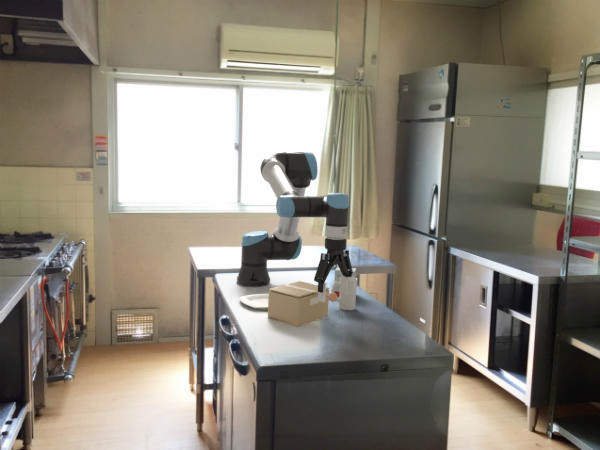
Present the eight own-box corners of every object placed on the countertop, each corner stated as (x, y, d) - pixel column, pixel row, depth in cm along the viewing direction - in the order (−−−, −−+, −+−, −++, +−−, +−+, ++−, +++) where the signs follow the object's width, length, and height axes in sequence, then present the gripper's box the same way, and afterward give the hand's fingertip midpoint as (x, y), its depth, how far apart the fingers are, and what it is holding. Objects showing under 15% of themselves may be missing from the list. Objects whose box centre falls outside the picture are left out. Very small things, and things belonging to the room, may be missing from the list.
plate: (252, 314, 212) (252, 308, 211) (233, 300, 228) (233, 295, 228) (297, 309, 220) (297, 304, 220) (276, 296, 237) (276, 292, 237)
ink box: (352, 298, 238) (354, 271, 236) (332, 297, 240) (334, 269, 238) (355, 294, 246) (356, 267, 245) (335, 292, 248) (337, 265, 246)
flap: (268, 293, 205) (268, 285, 205) (299, 285, 219) (300, 277, 219) (321, 307, 191) (321, 298, 190) (350, 297, 205) (351, 289, 204)
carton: (267, 317, 206) (268, 291, 205) (298, 308, 220) (299, 283, 219) (297, 326, 198) (299, 298, 196) (327, 316, 212) (329, 290, 210)
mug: (352, 305, 227) (354, 276, 226) (357, 310, 221) (359, 280, 219) (328, 306, 225) (330, 276, 224) (332, 310, 219) (334, 280, 217)
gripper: (323, 242, 184) (320, 306, 186) (364, 236, 203) (361, 293, 206) (305, 239, 188) (302, 302, 191) (347, 233, 208) (344, 290, 210)
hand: (333, 297), depth 198 cm, fingers open, 13 cm apart
